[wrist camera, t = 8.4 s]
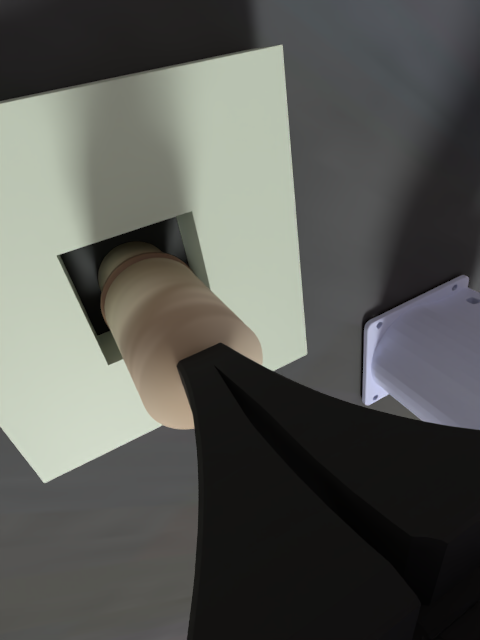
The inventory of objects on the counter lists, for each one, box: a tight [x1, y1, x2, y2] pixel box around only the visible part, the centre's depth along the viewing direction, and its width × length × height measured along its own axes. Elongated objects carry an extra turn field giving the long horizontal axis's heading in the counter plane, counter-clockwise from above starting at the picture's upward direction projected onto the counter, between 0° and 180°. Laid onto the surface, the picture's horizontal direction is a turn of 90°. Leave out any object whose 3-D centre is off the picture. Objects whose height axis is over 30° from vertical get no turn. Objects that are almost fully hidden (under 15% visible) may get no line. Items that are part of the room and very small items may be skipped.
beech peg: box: [98, 241, 263, 429], centre depth 15 cm, size 4×4×8 cm
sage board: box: [0, 45, 307, 483], centre depth 16 cm, size 14×14×2 cm
